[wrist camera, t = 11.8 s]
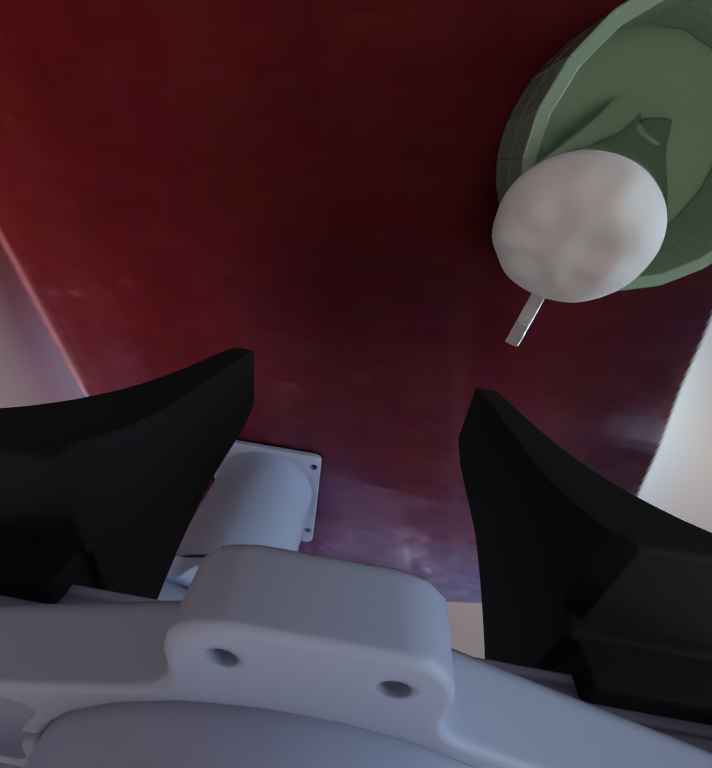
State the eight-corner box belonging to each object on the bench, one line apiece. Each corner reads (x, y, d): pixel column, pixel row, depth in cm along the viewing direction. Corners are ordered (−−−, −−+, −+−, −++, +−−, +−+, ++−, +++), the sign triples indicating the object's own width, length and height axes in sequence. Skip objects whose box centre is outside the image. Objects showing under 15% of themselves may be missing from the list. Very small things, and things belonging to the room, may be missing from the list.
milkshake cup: (540, 197, 19) (449, 317, 14) (599, 56, 14) (495, 159, 9) (639, 228, 17) (577, 375, 12) (739, 82, 13) (702, 220, 8)
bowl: (654, 277, 19) (717, 307, 15) (470, 248, 19) (487, 270, 16) (787, 32, 14) (928, -15, 11) (540, -4, 15) (590, -63, 11)
